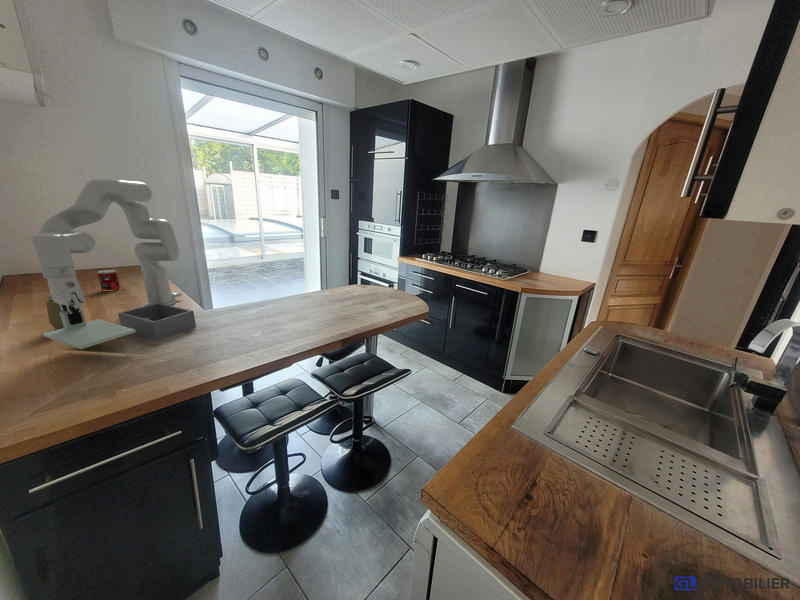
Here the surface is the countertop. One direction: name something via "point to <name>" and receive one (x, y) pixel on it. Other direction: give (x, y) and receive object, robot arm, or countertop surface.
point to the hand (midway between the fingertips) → (74, 322)
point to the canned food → (108, 279)
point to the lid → (87, 332)
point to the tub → (158, 320)
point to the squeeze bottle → (54, 313)
